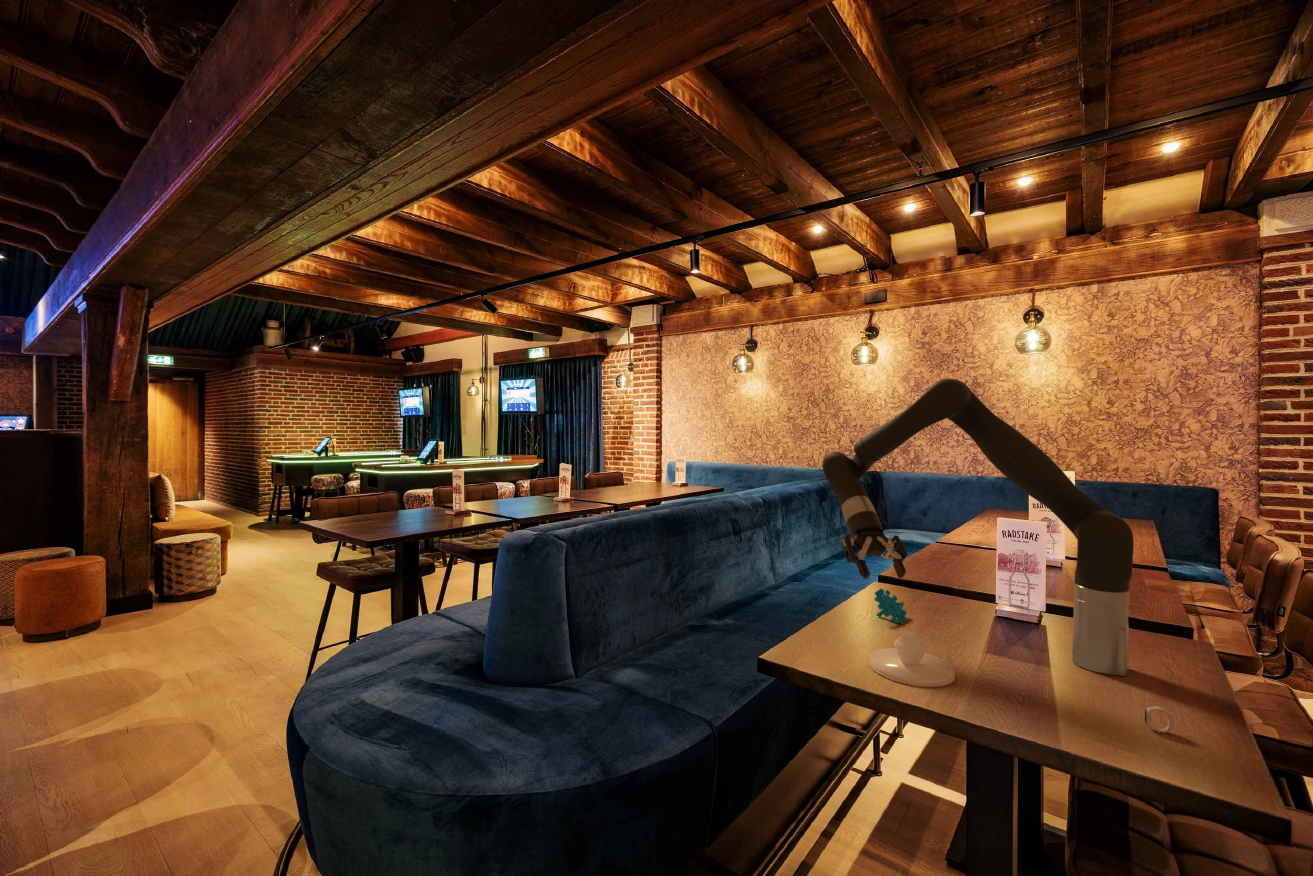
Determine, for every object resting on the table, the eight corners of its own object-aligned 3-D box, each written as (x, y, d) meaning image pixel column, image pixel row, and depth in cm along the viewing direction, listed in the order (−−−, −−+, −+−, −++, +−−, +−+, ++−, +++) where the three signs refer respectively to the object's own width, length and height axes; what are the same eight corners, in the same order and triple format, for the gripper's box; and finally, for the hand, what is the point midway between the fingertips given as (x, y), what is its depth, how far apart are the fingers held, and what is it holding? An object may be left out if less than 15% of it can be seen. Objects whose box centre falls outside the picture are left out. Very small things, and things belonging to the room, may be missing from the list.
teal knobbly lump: (892, 622, 143) (871, 587, 149) (876, 633, 146) (856, 599, 153) (917, 620, 149) (896, 587, 156) (901, 631, 152) (881, 598, 159)
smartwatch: (1172, 732, 96) (1173, 708, 96) (1174, 737, 94) (1175, 713, 94) (1144, 725, 98) (1144, 702, 98) (1145, 730, 96) (1146, 707, 96)
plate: (965, 668, 120) (965, 662, 120) (940, 695, 108) (941, 689, 108) (885, 646, 131) (885, 641, 131) (854, 669, 119) (854, 663, 119)
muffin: (915, 671, 115) (916, 637, 115) (887, 661, 120) (888, 628, 120) (931, 664, 119) (932, 631, 119) (904, 654, 124) (904, 622, 124)
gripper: (839, 509, 137) (861, 568, 126) (894, 509, 139) (921, 567, 128) (829, 527, 142) (849, 585, 131) (882, 526, 144) (907, 584, 133)
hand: (884, 576), depth 130 cm, fingers open, 8 cm apart
